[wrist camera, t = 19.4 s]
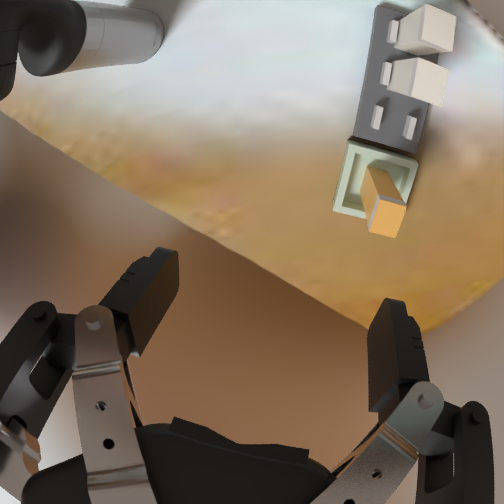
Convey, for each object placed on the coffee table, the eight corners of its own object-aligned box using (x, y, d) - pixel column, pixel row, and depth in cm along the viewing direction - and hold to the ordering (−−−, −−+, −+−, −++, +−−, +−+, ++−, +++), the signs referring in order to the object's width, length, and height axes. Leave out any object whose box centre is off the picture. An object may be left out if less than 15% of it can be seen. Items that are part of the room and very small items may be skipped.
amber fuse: (359, 191, 42) (369, 231, 32) (366, 165, 39) (379, 199, 30) (380, 196, 41) (395, 238, 32) (387, 171, 39) (407, 206, 29)
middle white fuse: (386, 89, 32) (411, 96, 22) (391, 61, 29) (418, 57, 20) (409, 96, 31) (441, 107, 22) (414, 69, 29) (449, 69, 19)
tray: (332, 202, 44) (333, 210, 42) (347, 139, 39) (349, 143, 36) (393, 217, 43) (397, 227, 41) (413, 158, 38) (418, 164, 35)
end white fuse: (393, 47, 28) (421, 38, 19) (397, 21, 26) (426, 3, 16) (417, 55, 28) (452, 51, 18) (421, 29, 26) (456, 16, 16)
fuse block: (352, 133, 38) (355, 139, 35) (375, 8, 27) (380, 2, 24) (411, 150, 37) (419, 158, 34) (437, 29, 26) (447, 26, 23)
